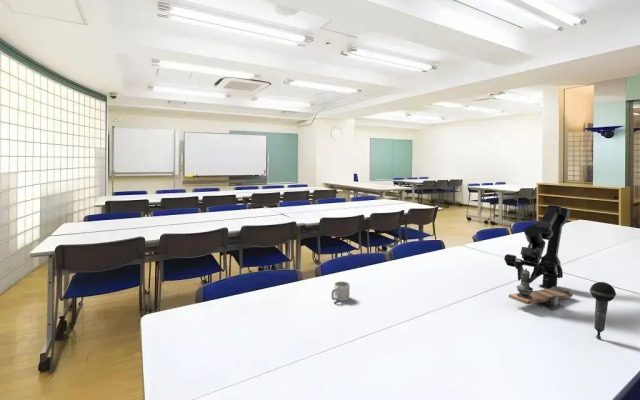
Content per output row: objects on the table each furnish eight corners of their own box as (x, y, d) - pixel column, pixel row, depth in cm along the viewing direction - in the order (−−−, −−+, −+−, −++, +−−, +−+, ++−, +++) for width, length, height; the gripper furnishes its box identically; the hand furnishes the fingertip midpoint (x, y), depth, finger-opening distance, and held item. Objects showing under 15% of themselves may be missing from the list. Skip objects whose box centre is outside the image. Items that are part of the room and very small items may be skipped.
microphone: (584, 331, 121) (589, 277, 119) (610, 337, 117) (615, 281, 115) (586, 340, 115) (591, 283, 113) (612, 346, 111) (618, 287, 109)
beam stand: (530, 295, 154) (531, 285, 153) (563, 307, 141) (564, 296, 141) (519, 298, 150) (519, 288, 150) (552, 310, 138) (553, 300, 137)
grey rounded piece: (515, 292, 144) (517, 265, 143) (531, 294, 141) (533, 267, 140) (516, 297, 139) (518, 269, 137) (533, 300, 136) (535, 271, 135)
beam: (553, 290, 156) (553, 285, 156) (572, 296, 149) (572, 291, 149) (508, 297, 142) (509, 291, 142) (527, 304, 135) (528, 298, 135)
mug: (341, 294, 156) (341, 280, 155) (352, 298, 151) (352, 284, 150) (326, 300, 149) (326, 286, 148) (337, 305, 144) (337, 290, 143)
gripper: (506, 235, 147) (495, 265, 141) (557, 243, 133) (547, 277, 127) (512, 250, 153) (501, 279, 147) (561, 259, 139) (551, 291, 133)
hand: (524, 281), depth 138 cm, fingers closed on grey rounded piece, 4 cm apart
